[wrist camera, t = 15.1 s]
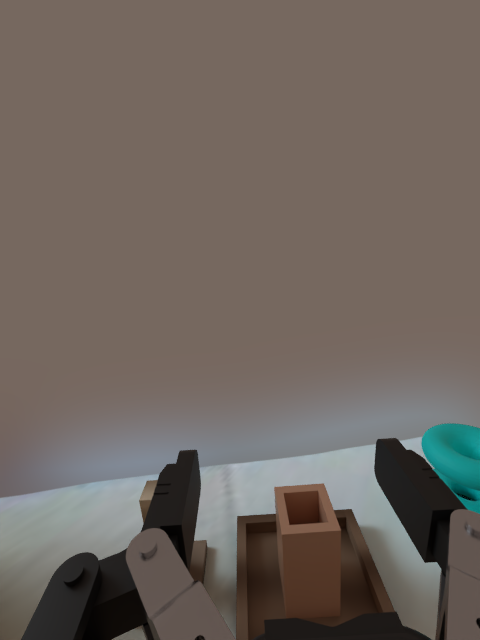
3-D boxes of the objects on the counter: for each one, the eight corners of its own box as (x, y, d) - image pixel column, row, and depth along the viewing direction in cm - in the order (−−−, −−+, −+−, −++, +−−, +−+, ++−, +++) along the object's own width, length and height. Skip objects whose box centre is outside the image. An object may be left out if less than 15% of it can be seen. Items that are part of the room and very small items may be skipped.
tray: (417, 691, 23) (419, 670, 22) (238, 700, 23) (235, 679, 22) (351, 524, 36) (351, 509, 36) (238, 531, 37) (237, 516, 36)
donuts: (406, 420, 40) (483, 417, 39) (402, 482, 42) (474, 479, 42) (457, 477, 30) (560, 473, 29) (448, 553, 32) (543, 550, 32)
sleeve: (340, 615, 27) (340, 530, 25) (286, 619, 27) (281, 534, 25) (324, 559, 32) (323, 483, 29) (278, 563, 32) (274, 487, 29)
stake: (199, 618, 28) (184, 519, 25) (127, 622, 28) (104, 524, 25) (207, 546, 35) (195, 461, 32) (149, 550, 35) (132, 466, 32)
